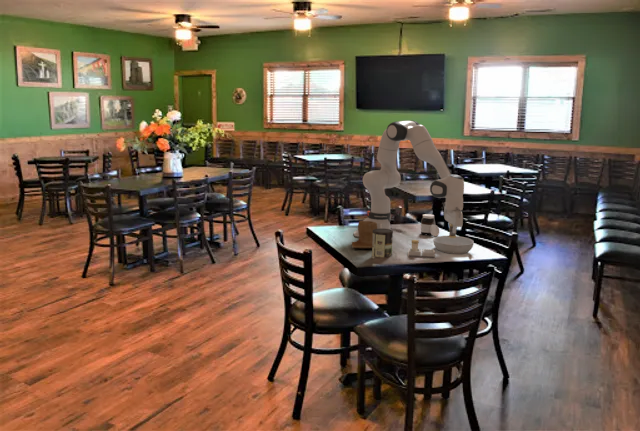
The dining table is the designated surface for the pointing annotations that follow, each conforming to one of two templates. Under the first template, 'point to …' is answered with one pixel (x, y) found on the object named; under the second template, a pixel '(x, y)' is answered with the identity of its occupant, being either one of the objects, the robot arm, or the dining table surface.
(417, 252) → the fuse block
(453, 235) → the fuse
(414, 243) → the fuse
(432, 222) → the spread jar
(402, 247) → the dining table surface
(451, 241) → the serving bowl
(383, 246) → the coffee can
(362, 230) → the wooden napkin holder
